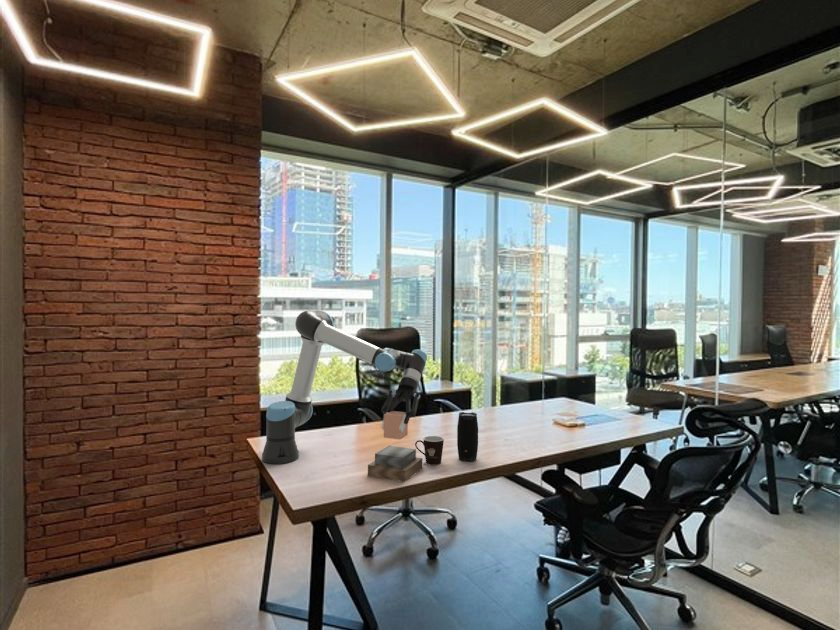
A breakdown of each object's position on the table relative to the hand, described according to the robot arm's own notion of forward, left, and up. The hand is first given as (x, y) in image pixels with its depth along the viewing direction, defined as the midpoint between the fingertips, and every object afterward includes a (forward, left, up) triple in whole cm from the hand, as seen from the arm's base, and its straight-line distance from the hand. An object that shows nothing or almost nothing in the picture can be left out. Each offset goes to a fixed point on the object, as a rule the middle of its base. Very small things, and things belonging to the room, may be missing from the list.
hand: (391, 429), depth 174 cm
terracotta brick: (0, +3, -3) cm, 5 cm away
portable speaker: (+21, +31, -18) cm, 41 cm away
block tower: (0, +4, -17) cm, 18 cm away
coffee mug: (+8, +21, -18) cm, 28 cm away
